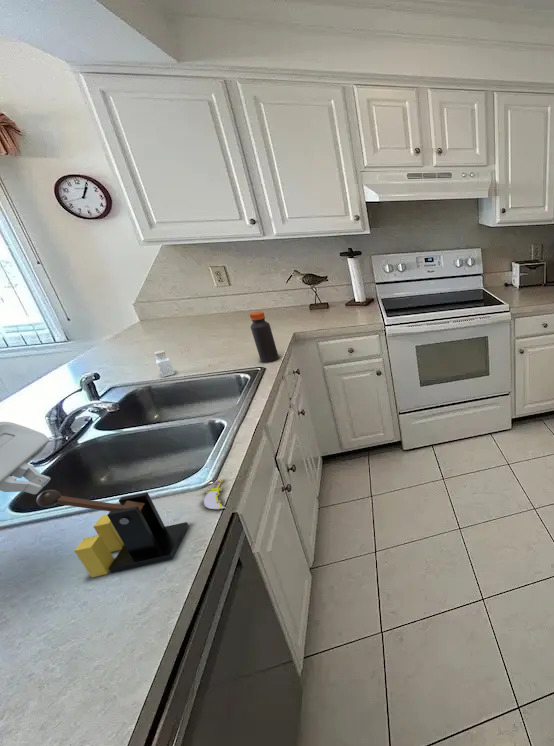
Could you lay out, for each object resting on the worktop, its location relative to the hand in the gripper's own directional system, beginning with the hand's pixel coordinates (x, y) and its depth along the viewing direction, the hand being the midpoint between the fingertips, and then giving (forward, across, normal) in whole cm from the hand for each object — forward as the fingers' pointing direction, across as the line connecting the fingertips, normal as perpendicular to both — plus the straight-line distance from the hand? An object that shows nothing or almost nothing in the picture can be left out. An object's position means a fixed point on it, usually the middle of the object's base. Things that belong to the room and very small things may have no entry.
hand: (44, 486), depth 72 cm
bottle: (+24, +100, +2) cm, 103 cm away
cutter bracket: (+20, -1, +6) cm, 21 cm away
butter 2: (+15, -4, +10) cm, 19 cm away
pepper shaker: (-1, +98, +27) cm, 102 cm away
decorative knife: (+26, +12, 0) cm, 29 cm away
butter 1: (+16, +2, +10) cm, 19 cm away
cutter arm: (+8, -1, +2) cm, 8 cm away
